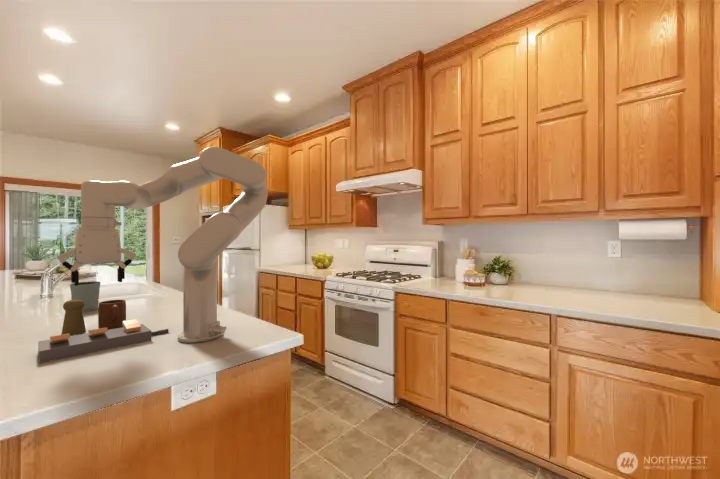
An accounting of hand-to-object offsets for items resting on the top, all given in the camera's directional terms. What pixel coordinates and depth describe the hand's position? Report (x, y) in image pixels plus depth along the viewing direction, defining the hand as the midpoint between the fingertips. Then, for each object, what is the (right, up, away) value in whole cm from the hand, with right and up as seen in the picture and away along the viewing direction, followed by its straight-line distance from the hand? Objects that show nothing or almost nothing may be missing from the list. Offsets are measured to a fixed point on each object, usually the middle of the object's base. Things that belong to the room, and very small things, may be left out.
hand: (99, 283), depth 89 cm
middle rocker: (-1, -15, +1) cm, 15 cm away
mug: (-9, -19, +17) cm, 27 cm away
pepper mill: (-20, -19, +13) cm, 30 cm away
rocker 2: (+5, -15, +7) cm, 17 cm away
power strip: (+1, -18, +3) cm, 19 cm away
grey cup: (-46, -19, +47) cm, 68 cm away
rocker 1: (-6, -15, -5) cm, 17 cm away
